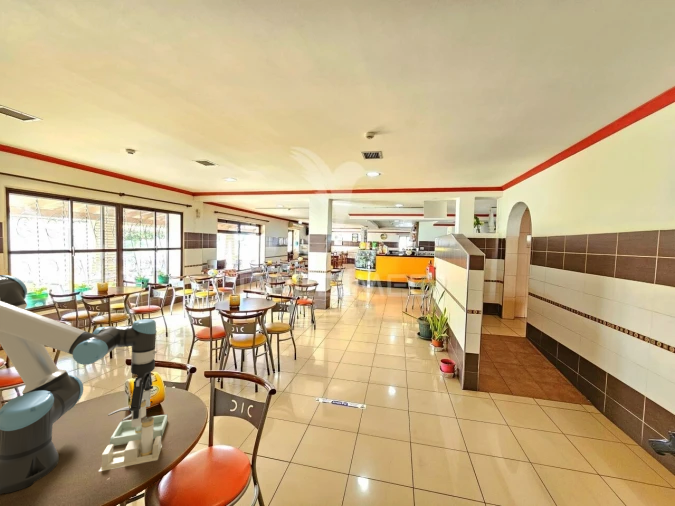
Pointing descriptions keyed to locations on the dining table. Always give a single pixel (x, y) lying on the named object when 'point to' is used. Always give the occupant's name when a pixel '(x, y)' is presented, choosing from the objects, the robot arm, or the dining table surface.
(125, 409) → the pliers
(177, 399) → the dining table surface
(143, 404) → the fuse
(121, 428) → the parts tray
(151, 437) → the fuse
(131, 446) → the fuse holder
